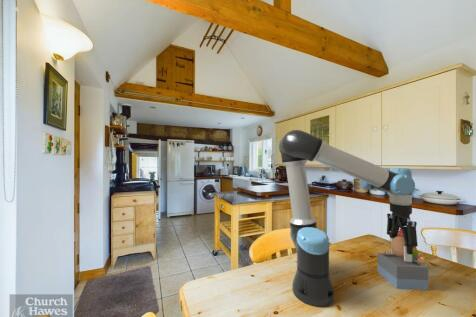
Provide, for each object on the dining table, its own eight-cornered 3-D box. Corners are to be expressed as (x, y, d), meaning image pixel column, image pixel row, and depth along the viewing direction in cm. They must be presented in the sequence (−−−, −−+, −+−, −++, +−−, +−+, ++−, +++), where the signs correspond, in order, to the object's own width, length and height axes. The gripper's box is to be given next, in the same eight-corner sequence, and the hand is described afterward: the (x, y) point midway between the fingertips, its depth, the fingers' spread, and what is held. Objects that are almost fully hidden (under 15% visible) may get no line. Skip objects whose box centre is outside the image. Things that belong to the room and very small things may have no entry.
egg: (414, 262, 82) (414, 240, 82) (395, 259, 83) (394, 238, 84) (406, 255, 88) (405, 234, 88) (388, 252, 90) (388, 233, 90)
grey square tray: (396, 288, 80) (396, 266, 80) (377, 272, 92) (377, 252, 92) (428, 290, 79) (428, 267, 79) (404, 273, 91) (404, 253, 91)
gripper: (430, 209, 76) (431, 269, 76) (393, 199, 96) (393, 247, 95) (409, 208, 77) (410, 268, 76) (377, 199, 96) (377, 246, 96)
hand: (401, 256), depth 86 cm, fingers closed on egg, 7 cm apart
